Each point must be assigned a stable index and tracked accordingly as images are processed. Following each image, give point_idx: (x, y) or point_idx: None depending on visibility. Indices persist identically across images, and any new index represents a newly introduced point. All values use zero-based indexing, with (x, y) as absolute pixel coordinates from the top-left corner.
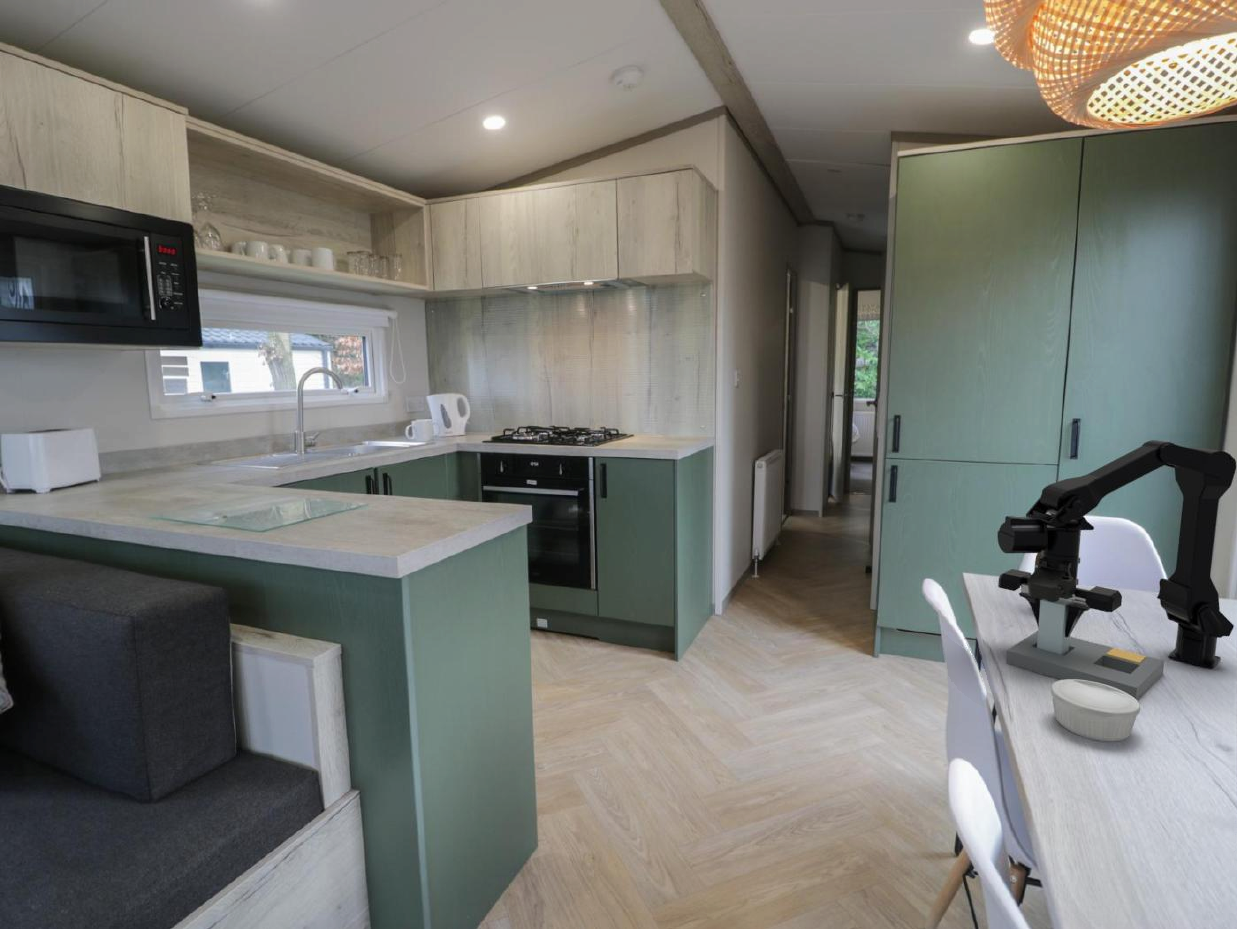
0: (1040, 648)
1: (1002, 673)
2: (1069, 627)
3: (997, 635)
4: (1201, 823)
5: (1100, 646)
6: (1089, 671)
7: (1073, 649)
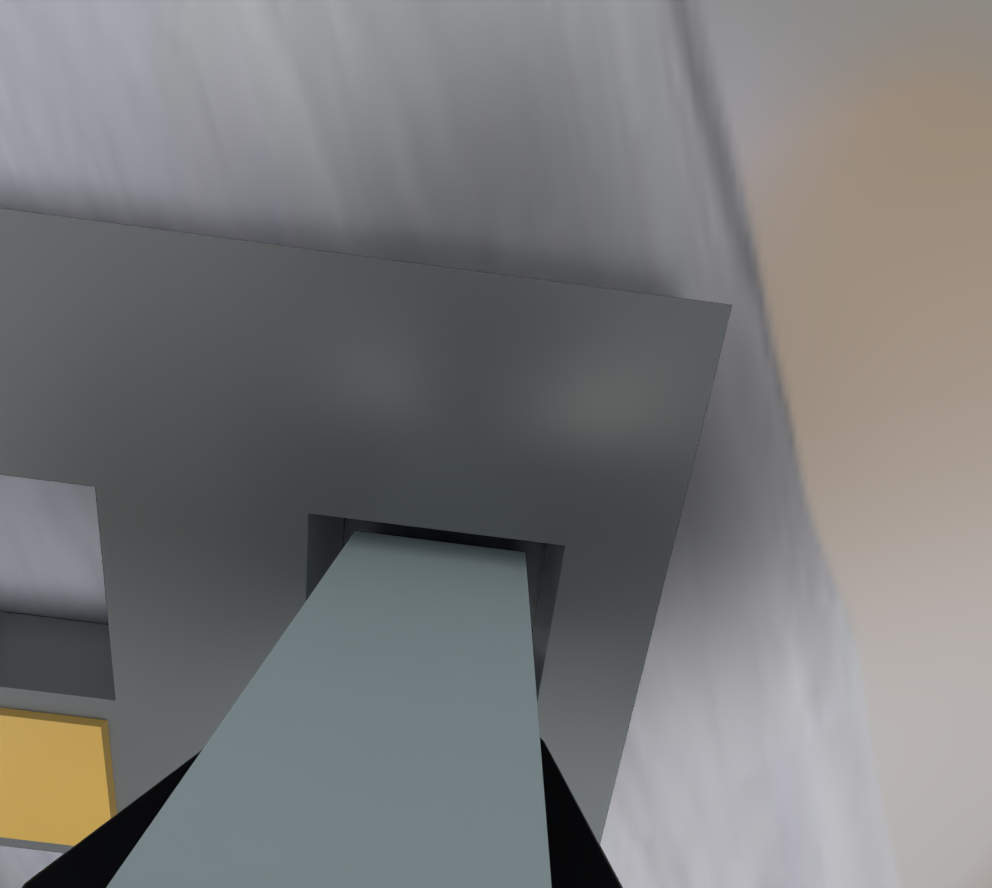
0: (499, 564)
1: (670, 49)
2: (153, 806)
3: (805, 763)
4: None
5: None
6: (38, 281)
7: None
